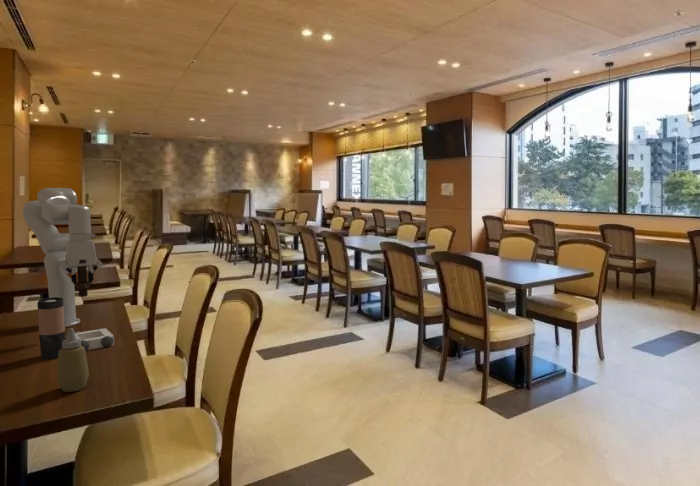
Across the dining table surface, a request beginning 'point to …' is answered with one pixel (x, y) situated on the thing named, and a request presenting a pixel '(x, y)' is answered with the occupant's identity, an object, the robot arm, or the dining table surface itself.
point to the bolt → (82, 279)
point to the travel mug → (51, 326)
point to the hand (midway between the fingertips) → (82, 282)
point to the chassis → (95, 338)
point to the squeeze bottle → (72, 364)
